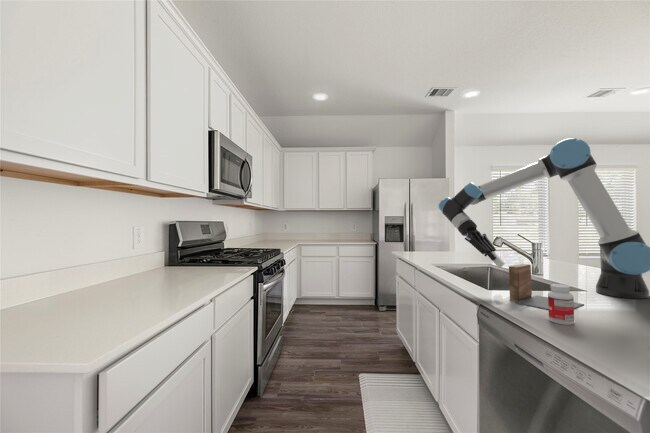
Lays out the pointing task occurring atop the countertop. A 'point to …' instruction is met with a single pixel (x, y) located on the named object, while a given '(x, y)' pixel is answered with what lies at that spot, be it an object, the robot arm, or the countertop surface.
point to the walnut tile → (520, 282)
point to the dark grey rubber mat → (540, 302)
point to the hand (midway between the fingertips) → (502, 265)
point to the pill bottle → (561, 304)
